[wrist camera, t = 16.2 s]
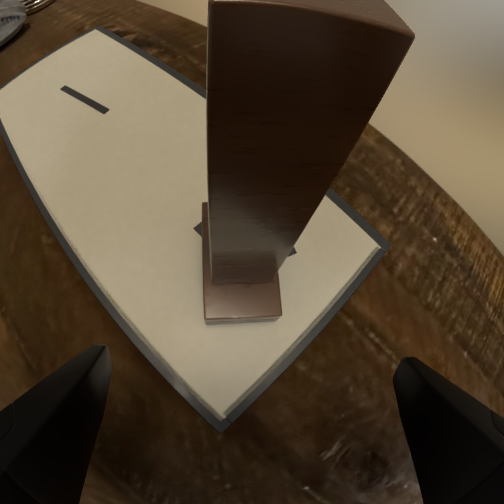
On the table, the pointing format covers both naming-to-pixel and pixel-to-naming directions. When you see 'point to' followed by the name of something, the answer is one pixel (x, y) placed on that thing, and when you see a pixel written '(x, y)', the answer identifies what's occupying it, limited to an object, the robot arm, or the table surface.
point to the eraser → (282, 131)
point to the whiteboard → (164, 218)
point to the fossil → (11, 19)
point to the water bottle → (35, 5)
